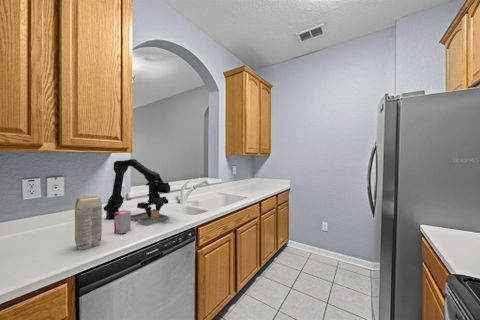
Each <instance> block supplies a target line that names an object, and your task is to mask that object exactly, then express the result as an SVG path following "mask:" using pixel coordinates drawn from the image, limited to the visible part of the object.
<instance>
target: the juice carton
mask: <svg viewBox="0 0 480 320" xmlns="http://www.w3.org/2000/svg"><path fill="white" fill-rule="evenodd" d="M102 206H103V204H102V200H101V197H100V196H98V195H92V194H91V193H89V194H84V197H76V198H75V203H74V242H75V244H76V247H77V248H78V250H80V251H81V250H86V249H89V248H92V247H96V246H99V245H100V244H101V241H102V235H103V234H102V231H103V230H102V223H103V220H102V218H103V214H102V212H103V211H102V209H103V207H102Z"/></svg>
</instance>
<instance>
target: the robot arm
mask: <svg viewBox="0 0 480 320" xmlns="http://www.w3.org/2000/svg"><path fill="white" fill-rule="evenodd" d="M129 167H132V168H134V169H135V170H136V171H137V172H139V173H140V174H141V175H143V176H144V179H146V180H147V183H146V184H145V186H148V193H147V196H148V200H147V202H145V201H143V202H137V205H136V208H137V209H141V210H142V209H143V210H145V212H147V214H148V216H149V218H150V216H151V210H152V208H153V207H151V206H154V205H155V209H156V210H159V212H160V211H161V208H162V207H164V206H165V204H166V205H167V204H169V199H168V198H167V197H166V196H161V194H169V193H170V192H171V185H170V183H169V182H164V181H163V179H162V178H161V175H160V174H159V173H158V172H156V171H153V170H151V169H149V168H148V167H147V166H144V165H143V164H141V162H139V161H138V160H137V159H134V158H130V159H125V160H116V161H114V162H113V171H114V175H115V176H114V182H113V187H112V193H111V195H110V197H109V198H108V201H107V204H105V205H104V207H103V210H104V212H105V213H106V214H105V216H106V217H105V218H104V219H106V220H108V221H112V220H114V213H115V212H119V211H120V210H119V209H121V207H122V205H123V203H124V200H125V197H124V196H122V190H123V189H122V188H123V183H124V176H125V173H126V172H127V171H128V168H129ZM160 193H161V194H160Z"/></svg>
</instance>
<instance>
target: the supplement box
mask: <svg viewBox="0 0 480 320" xmlns="http://www.w3.org/2000/svg"><path fill="white" fill-rule="evenodd" d="M131 215H132V213H131V210H119V212H115V213H114V219H113V224H114V225H113V233H114V234H117V235H120V236H121V235H124V234H126V233H128V232H130V231H131V223H132V221H131Z"/></svg>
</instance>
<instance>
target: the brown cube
mask: <svg viewBox="0 0 480 320" xmlns="http://www.w3.org/2000/svg"><path fill="white" fill-rule="evenodd" d="M159 214H160V211H159V210H156V208H154V209H151V216H150V218H149V216H148V219H151V220H154V219H157V218H159Z"/></svg>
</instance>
